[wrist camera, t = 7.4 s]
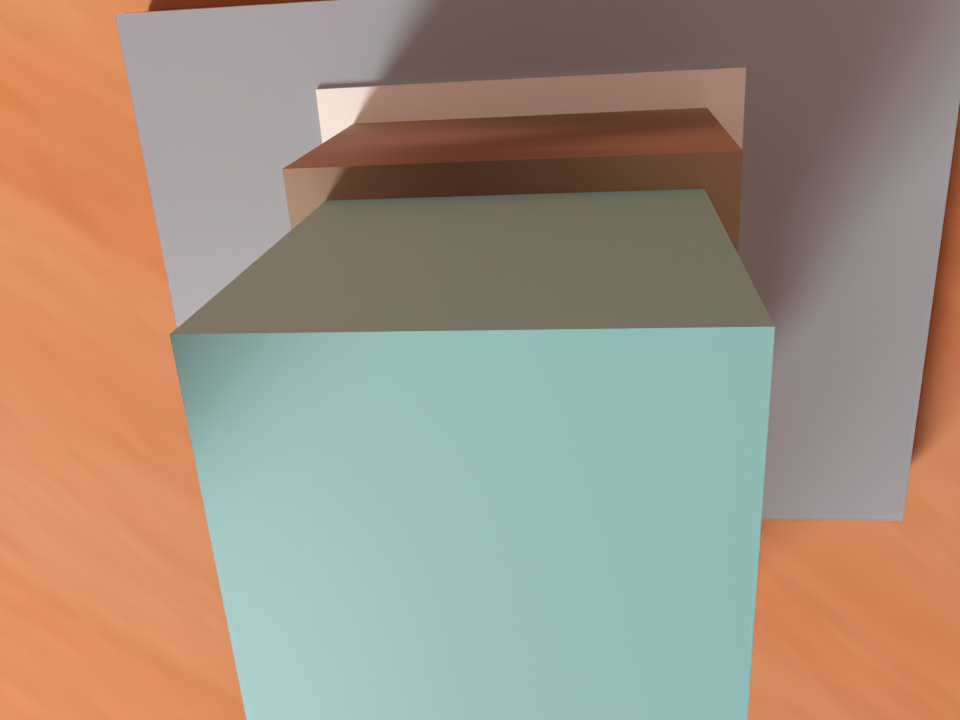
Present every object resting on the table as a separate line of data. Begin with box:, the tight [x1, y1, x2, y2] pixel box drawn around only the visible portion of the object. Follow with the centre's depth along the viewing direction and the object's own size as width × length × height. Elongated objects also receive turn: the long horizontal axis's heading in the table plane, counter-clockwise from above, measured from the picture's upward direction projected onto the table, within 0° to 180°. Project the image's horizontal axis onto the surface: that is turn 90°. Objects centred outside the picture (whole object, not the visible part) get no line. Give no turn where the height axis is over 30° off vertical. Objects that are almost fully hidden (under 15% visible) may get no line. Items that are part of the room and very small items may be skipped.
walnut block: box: [282, 108, 743, 253], centre depth 15 cm, size 6×6×4 cm
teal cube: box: [170, 189, 775, 720], centre depth 11 cm, size 5×5×5 cm
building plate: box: [115, 0, 960, 521], centre depth 17 cm, size 14×10×1 cm
